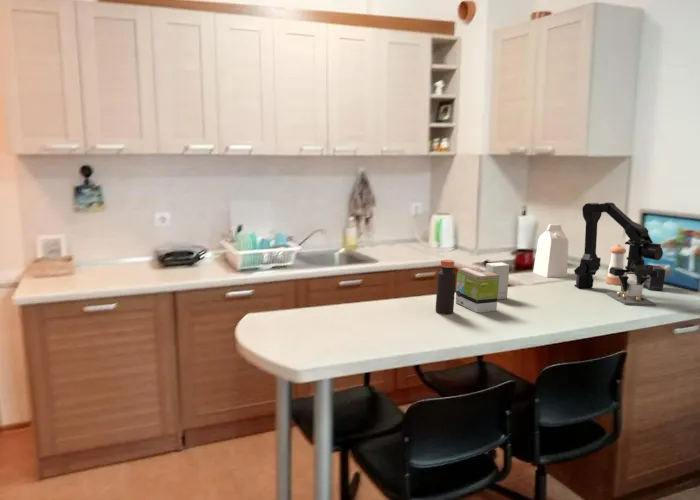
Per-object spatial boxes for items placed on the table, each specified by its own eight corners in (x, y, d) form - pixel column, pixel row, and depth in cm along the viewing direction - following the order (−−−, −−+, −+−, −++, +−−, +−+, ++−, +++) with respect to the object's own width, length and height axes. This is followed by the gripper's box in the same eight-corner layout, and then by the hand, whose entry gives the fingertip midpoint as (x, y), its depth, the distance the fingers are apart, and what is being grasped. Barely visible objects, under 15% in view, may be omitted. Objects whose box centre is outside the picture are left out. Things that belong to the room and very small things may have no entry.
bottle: (449, 315, 223) (452, 263, 219) (432, 312, 226) (435, 260, 223) (456, 311, 229) (459, 260, 225) (439, 308, 232) (442, 258, 229)
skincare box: (499, 295, 257) (502, 261, 254) (507, 299, 251) (510, 264, 249) (482, 296, 254) (485, 262, 251) (490, 300, 248) (493, 265, 246)
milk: (552, 271, 313) (557, 222, 309) (566, 276, 303) (571, 225, 298) (533, 272, 310) (537, 223, 305) (546, 277, 299) (551, 226, 294)
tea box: (454, 303, 241) (456, 267, 239) (474, 301, 245) (477, 266, 243) (476, 313, 228) (478, 275, 225) (497, 311, 232) (500, 274, 229)
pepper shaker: (606, 283, 288) (610, 245, 285) (605, 281, 295) (610, 243, 292) (622, 285, 286) (627, 246, 282) (622, 282, 292) (626, 244, 289)
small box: (663, 291, 277) (666, 269, 275) (648, 290, 278) (651, 268, 277) (656, 286, 287) (659, 265, 285) (642, 285, 289) (645, 264, 287)
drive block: (629, 296, 253) (631, 284, 252) (620, 291, 262) (622, 280, 261) (641, 296, 253) (643, 285, 252) (632, 291, 262) (633, 280, 261)
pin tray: (625, 304, 249) (625, 298, 248) (606, 294, 266) (607, 288, 266) (655, 305, 249) (656, 299, 248) (635, 295, 267) (635, 289, 266)
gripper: (622, 258, 246) (618, 295, 249) (667, 260, 247) (662, 296, 249) (610, 254, 257) (606, 289, 260) (653, 255, 258) (648, 290, 260)
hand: (631, 291), depth 257 cm, fingers closed on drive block, 5 cm apart
